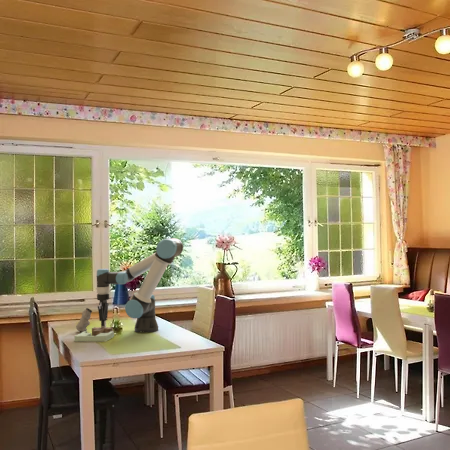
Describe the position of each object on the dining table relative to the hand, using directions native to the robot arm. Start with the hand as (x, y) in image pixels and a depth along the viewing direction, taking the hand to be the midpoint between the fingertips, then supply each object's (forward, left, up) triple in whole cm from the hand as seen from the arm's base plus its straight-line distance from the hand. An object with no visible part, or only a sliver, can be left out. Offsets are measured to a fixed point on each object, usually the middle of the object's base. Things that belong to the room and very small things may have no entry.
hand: (103, 331), depth 332 cm
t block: (0, +7, -2) cm, 7 cm away
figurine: (+15, -6, -2) cm, 17 cm away
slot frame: (0, +16, -2) cm, 16 cm away
